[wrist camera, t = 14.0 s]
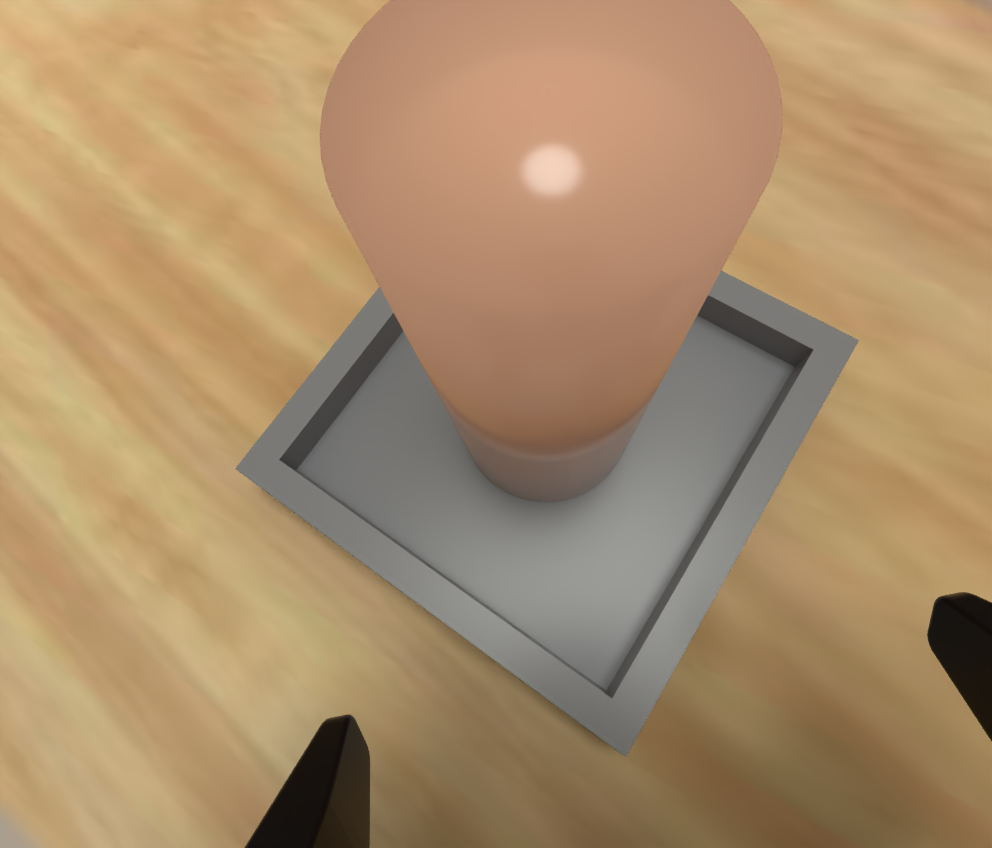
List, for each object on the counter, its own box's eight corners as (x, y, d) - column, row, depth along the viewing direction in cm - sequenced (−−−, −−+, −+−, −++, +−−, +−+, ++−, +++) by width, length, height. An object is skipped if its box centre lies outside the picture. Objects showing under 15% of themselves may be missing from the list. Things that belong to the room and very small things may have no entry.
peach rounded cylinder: (572, 535, 18) (628, 408, 6) (431, 444, 20) (231, 178, 7) (660, 394, 19) (864, 33, 7) (520, 316, 21) (481, -110, 8)
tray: (616, 739, 17) (625, 757, 15) (264, 481, 20) (234, 468, 18) (828, 365, 20) (858, 340, 18) (490, 189, 23) (486, 152, 21)
